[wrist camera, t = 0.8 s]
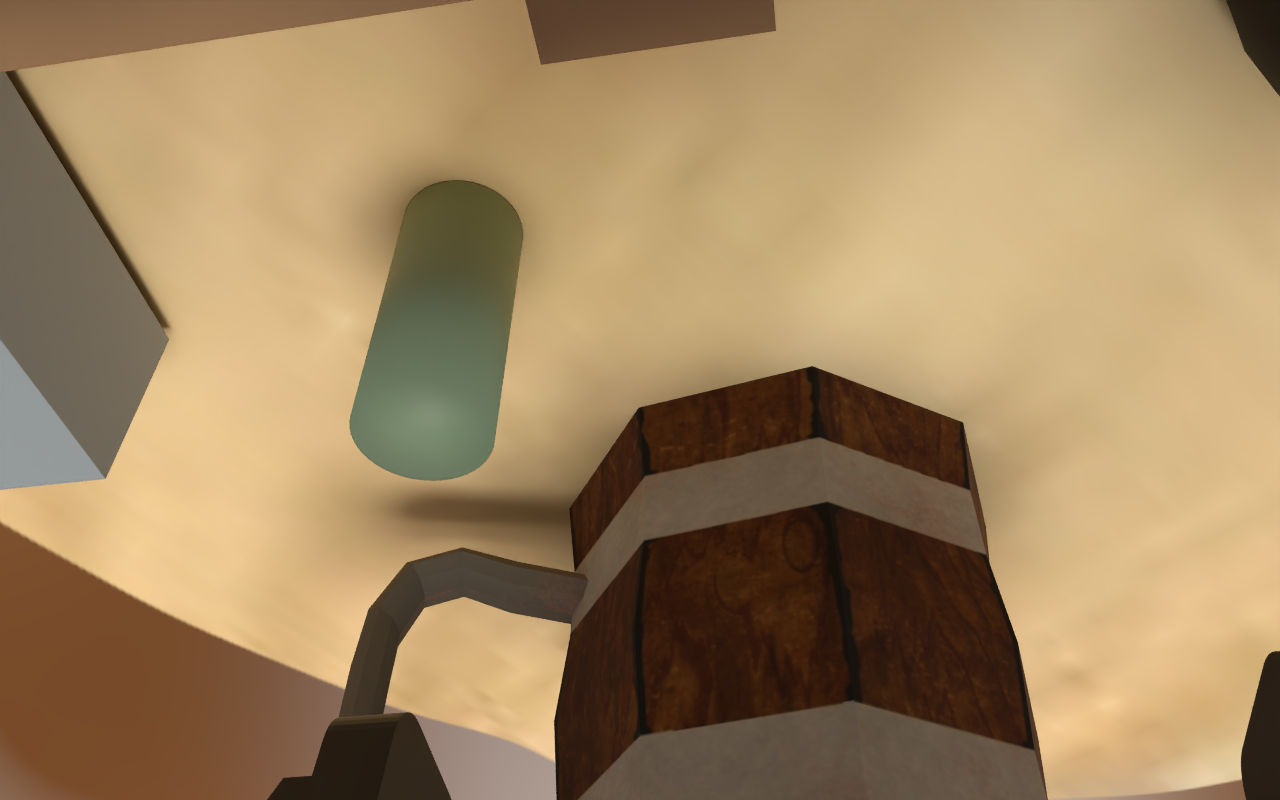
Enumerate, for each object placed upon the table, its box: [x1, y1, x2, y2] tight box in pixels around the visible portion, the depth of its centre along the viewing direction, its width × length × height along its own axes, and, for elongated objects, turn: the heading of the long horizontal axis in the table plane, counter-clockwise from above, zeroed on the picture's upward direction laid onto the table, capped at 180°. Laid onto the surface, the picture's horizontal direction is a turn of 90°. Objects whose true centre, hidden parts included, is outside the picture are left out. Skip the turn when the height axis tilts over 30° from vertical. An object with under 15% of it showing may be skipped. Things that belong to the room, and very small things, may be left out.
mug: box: [339, 366, 1048, 800], centre depth 31 cm, size 20×14×15 cm
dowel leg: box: [350, 181, 523, 481], centre depth 26 cm, size 3×3×7 cm
